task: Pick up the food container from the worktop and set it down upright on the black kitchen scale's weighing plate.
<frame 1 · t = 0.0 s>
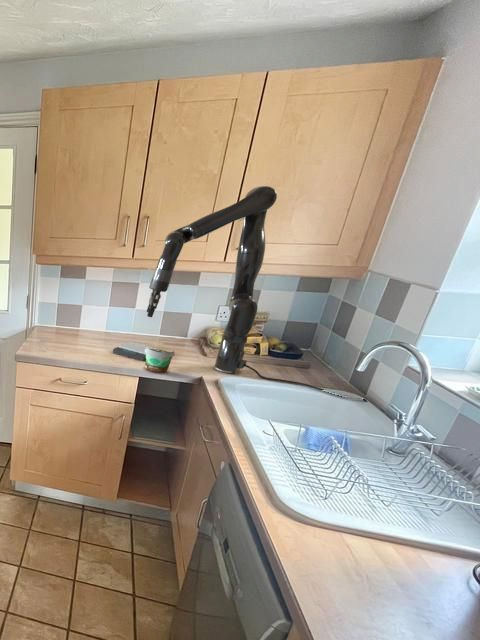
hand: (149, 314, 189), 22 cm above the worktop, tool pointing down, fingers open, 8 cm apart
food container: (155, 371, 185), on the worktop
scale: (135, 353, 207), on the worktop
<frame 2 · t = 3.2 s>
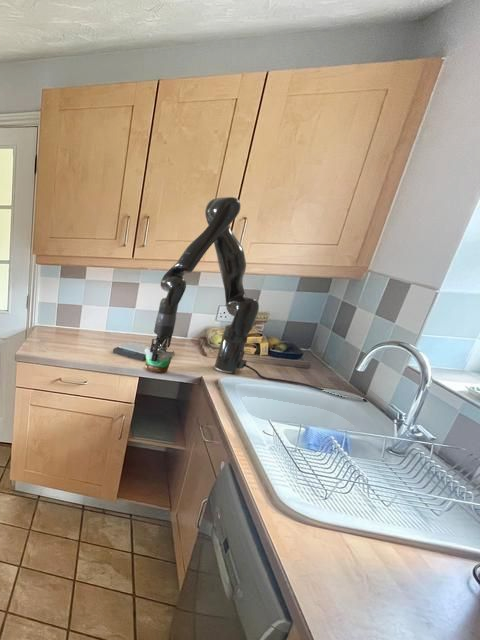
hand: (157, 359, 182), 6 cm above the worktop, tool pointing down, fingers closed on food container, 7 cm apart
food container: (155, 371, 185), on the worktop, touching gripper
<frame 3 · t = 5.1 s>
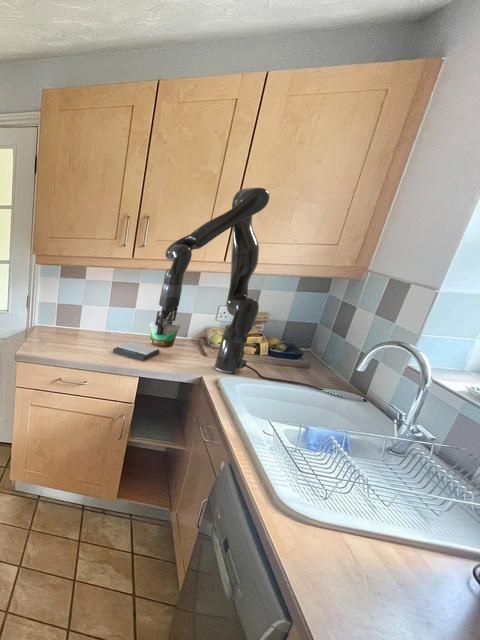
hand: (163, 333, 178), 18 cm above the worktop, tool pointing down, fingers closed on food container, 7 cm apart
food container: (160, 346, 180), point 12 cm above the worktop, touching gripper
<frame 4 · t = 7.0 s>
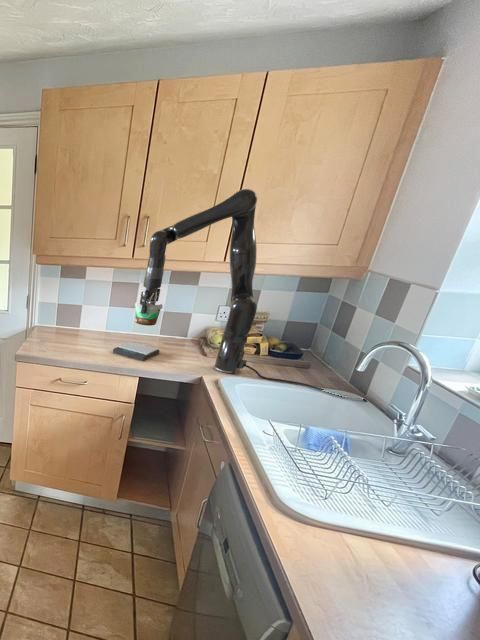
hand: (147, 312, 196), 22 cm above the worktop, tool pointing down, fingers closed on food container, 7 cm apart
food container: (144, 324, 198), point 16 cm above the worktop, touching gripper
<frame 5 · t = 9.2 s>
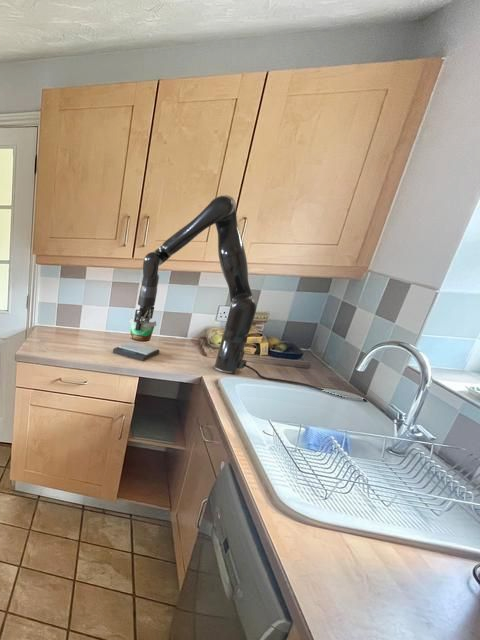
hand: (141, 329, 203), 12 cm above the worktop, tool pointing down, fingers closed on food container, 7 cm apart
food container: (139, 340, 205), point 6 cm above the worktop, touching gripper
when the fingers open (9 cm above the worktop, at t = 10.9 s): food container stays where it is, resting on scale.
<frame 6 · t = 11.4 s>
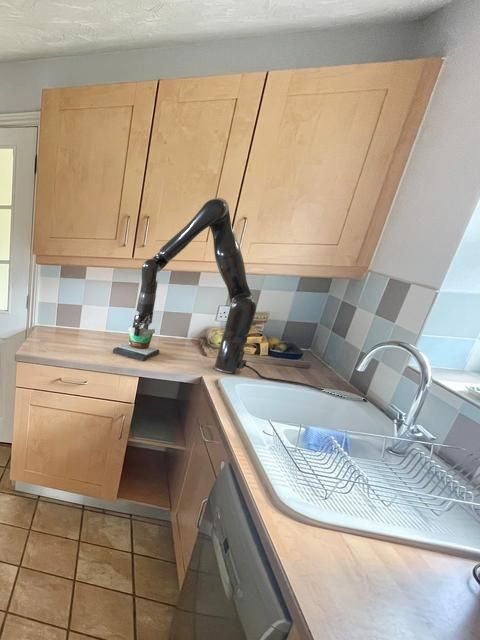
hand: (140, 334, 204), 10 cm above the worktop, tool pointing down, fingers open, 8 cm apart
food container: (138, 347, 206), point 3 cm above the worktop, touching scale
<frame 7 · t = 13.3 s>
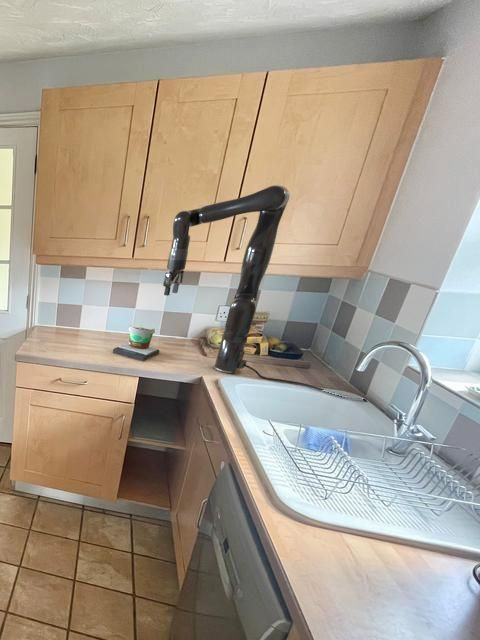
hand: (170, 294, 194), 30 cm above the worktop, tool pointing down, fingers open, 8 cm apart
nothing on the worktop moved.
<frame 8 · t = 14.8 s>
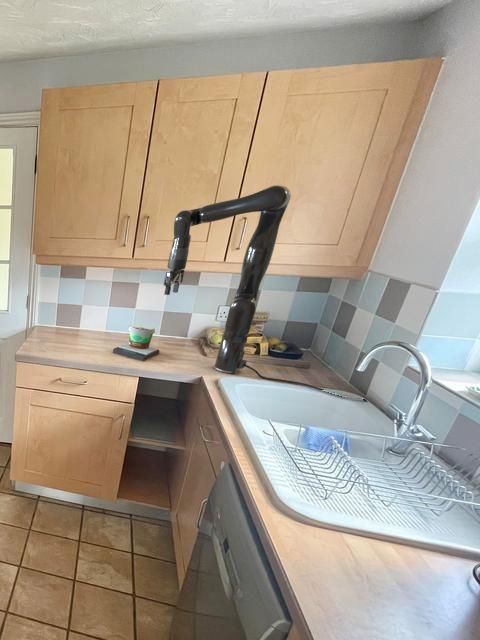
hand: (170, 293, 194), 30 cm above the worktop, tool pointing down, fingers open, 8 cm apart
nothing on the worktop moved.
at the end: food container inside the target area on the scale (0.2 cm from its centre), point 2.6 cm above the scale's base; food container tilted 0°; the gripper is holding nothing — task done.
